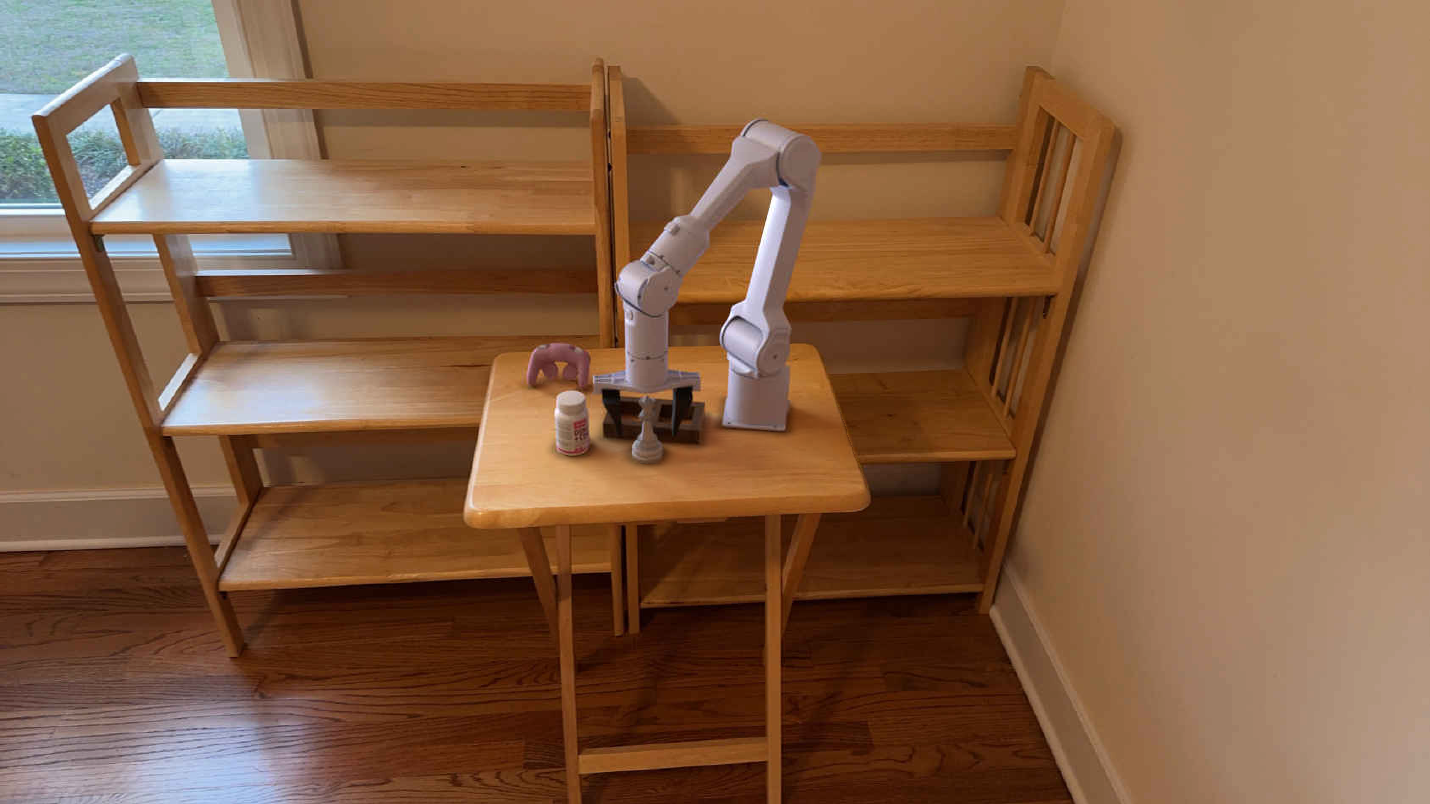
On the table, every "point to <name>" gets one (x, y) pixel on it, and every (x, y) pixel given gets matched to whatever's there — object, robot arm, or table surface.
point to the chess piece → (647, 435)
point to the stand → (658, 421)
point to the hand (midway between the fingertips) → (647, 433)
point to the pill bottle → (571, 423)
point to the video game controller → (559, 352)
